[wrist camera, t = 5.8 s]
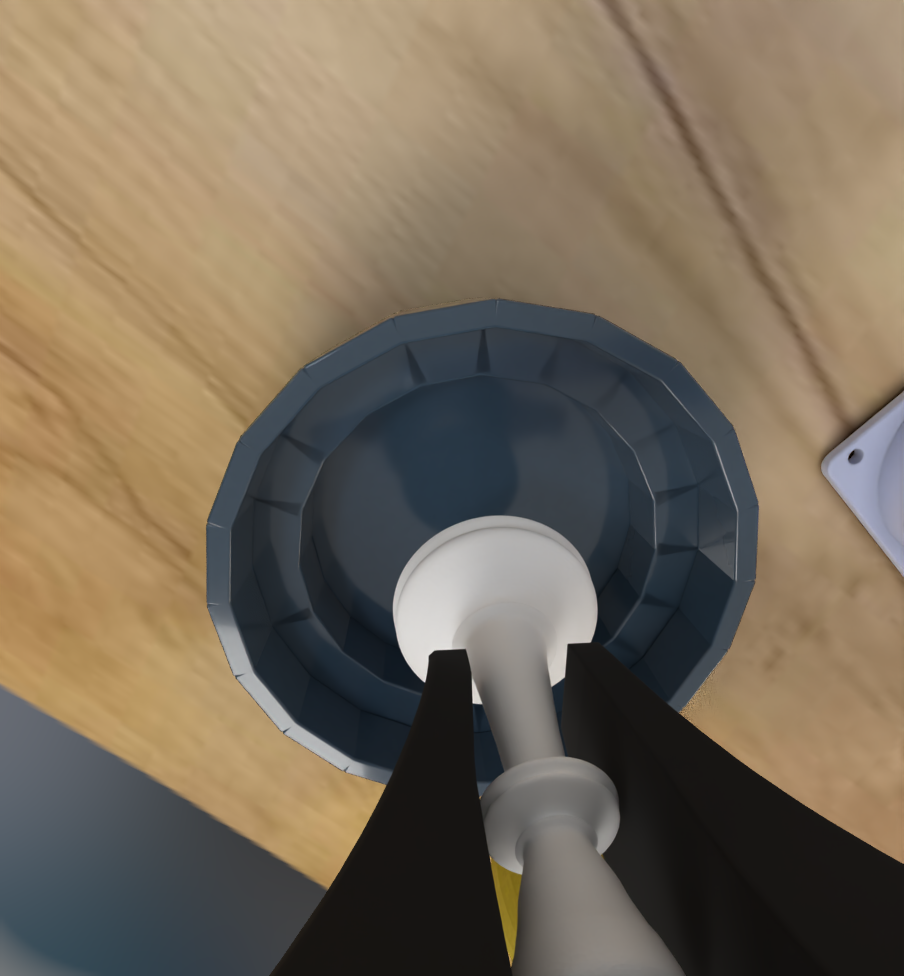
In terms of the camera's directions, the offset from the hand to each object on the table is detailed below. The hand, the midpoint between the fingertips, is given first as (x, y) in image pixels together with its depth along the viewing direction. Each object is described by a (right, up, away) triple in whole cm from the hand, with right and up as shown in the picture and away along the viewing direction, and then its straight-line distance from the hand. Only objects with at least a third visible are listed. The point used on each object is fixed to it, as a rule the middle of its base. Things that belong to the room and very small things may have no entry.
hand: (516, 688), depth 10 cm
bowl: (-1, +3, +8) cm, 8 cm away
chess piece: (0, +1, +3) cm, 3 cm away
